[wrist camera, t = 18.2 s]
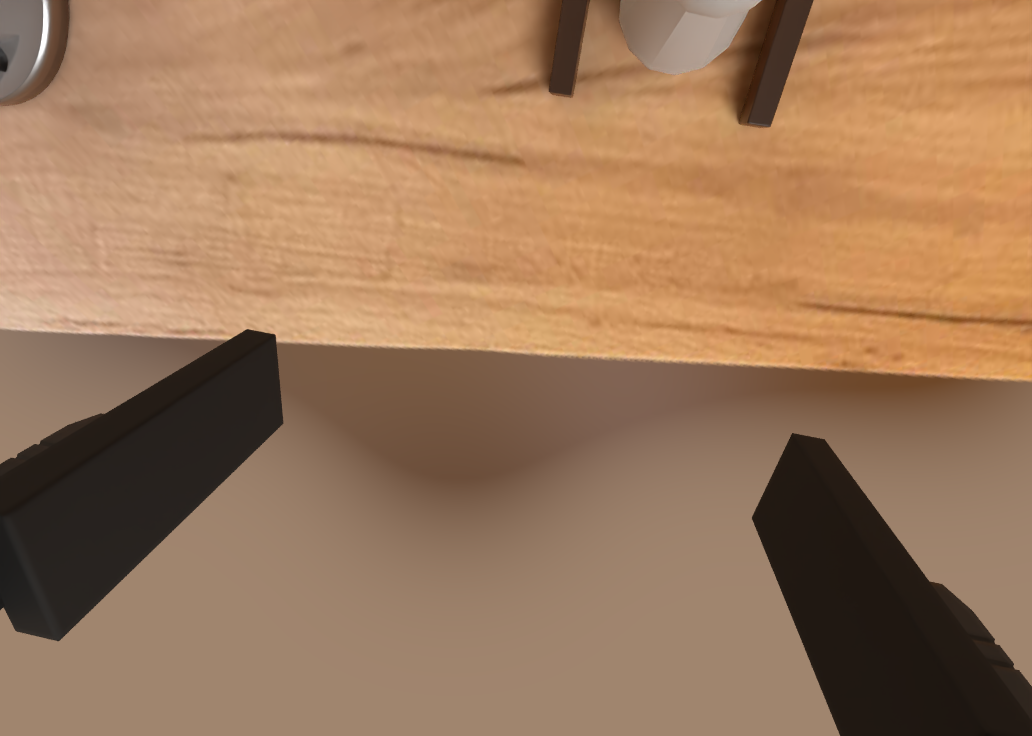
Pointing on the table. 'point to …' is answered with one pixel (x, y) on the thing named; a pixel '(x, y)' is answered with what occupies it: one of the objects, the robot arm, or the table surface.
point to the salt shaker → (681, 31)
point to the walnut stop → (767, 75)
